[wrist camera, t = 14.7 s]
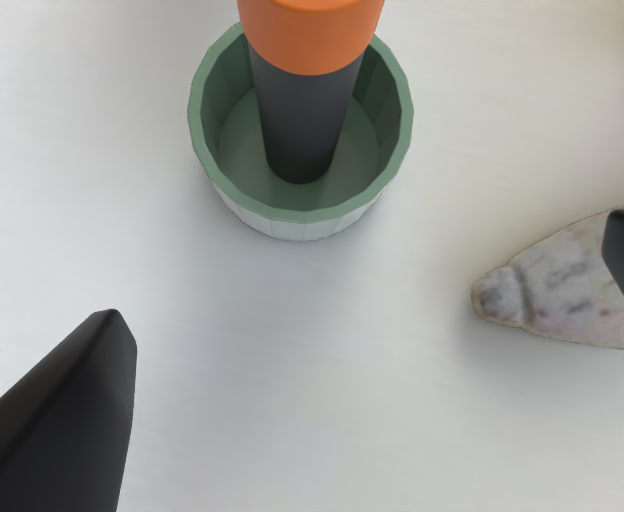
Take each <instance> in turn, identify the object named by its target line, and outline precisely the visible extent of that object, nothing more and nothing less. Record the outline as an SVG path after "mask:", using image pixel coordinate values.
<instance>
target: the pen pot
mask: <svg viewBox="0 0 624 512" xmlns="http://www.w3.org/2000/svg"><path fill="white" fill-rule="evenodd" d="M413 110H414V109H413V104H412V99H411V95H410V90H409V86H408V81H407V78H406V75H405V74H404V72H403V70H402V68H401V67H400V65H399V63H398V62H397V60H396V58H395V57H394V55H393V53H392V51H391V50H390V48H389V47H388V46H387V45H386V44H385V43H384V42H383V41H382V40H380V39H379V38H378V37H377V36H376V35H375V34H374V35H373V37H372V39H371V41H370V43H369V44H368V46H367V47H366V49H365V51H364V55H363V58H362V61H361V65H360V68H359V72H358V75H357V78H356V82H355V85H354V88H353V92H352V95H351V99H350V102H349V105H348V109H347V112H346V115H345V119H344V122H343V126H342V129H341V132H340V136H339V139H338V143H337V146H336V149H335V153H334V156H333V159H332V162H331V165H330V167H329V169H328V170H327V171H326V173H325V174H324V175H323V176H321V177H320V178H319V179H317V180H315V181H313V182H310V183H307V184H293V183H289V182H286V181H284V180H282V179H281V178H279V177H278V176H277V175H276V174H275V173H274V172H273V171H272V170H271V168H270V167H269V165H268V163H267V160H266V155H265V148H264V142H263V136H262V129H261V123H260V116H259V110H258V103H257V97H256V90H255V84H254V77H253V71H252V64H251V58H250V51H249V45H248V39H247V37H246V35H245V33H244V31H243V28H242V25H241V22H239V23H237V24H234V26H232V27H231V28H230V29H229V30H228V31H226V32H225V33H224V34H223V35H222V36H221V37H220V38H219V39H218V40H217V41H216V42H215V43H214V44H213V45H212V46H211V47H210V48H209V50H208V51H207V52H206V54H205V56H204V58H203V60H202V62H201V64H200V66H199V68H198V70H197V72H196V74H195V75H194V77H193V80H192V84H191V91H190V97H189V104H188V110H187V117H188V123H189V129H190V134H191V140H192V146H193V148H194V151H195V153H196V155H197V157H198V159H199V160H200V162H201V164H202V166H203V168H204V170H205V171H206V173H207V175H208V177H209V179H210V180H211V182H212V184H213V185H214V187H215V188H216V190H217V192H218V193H219V195H220V196H221V198H222V200H223V201H224V203H225V204H226V206H227V207H228V208H229V209H230V210H231V211H232V212H233V213H234V214H235V215H236V216H237V217H238V218H239V219H240V220H242V221H243V222H244V223H245V224H247V225H248V226H250V227H251V228H253V229H254V230H256V231H258V232H260V233H262V234H264V235H267V236H270V237H273V238H276V239H281V240H286V241H312V240H317V239H322V238H325V237H328V236H331V235H334V234H336V233H338V232H340V231H342V230H344V229H345V228H347V227H348V226H350V225H351V224H353V223H355V222H356V221H357V220H358V219H359V218H360V217H361V216H362V215H363V214H364V213H365V211H366V210H367V209H368V208H369V207H370V206H371V205H372V204H373V203H374V202H375V200H376V199H377V198H378V197H379V196H380V194H381V193H382V192H383V191H384V189H385V188H386V187H387V186H388V185H389V183H390V182H391V181H392V180H393V178H394V177H395V176H396V174H397V172H398V170H399V168H400V166H401V164H402V161H403V159H404V157H405V155H406V153H407V150H408V148H409V146H410V142H411V133H412V123H413V114H414V111H413Z"/></svg>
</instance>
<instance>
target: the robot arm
mask: <svg viewBox="0 0 624 512" xmlns="http://www.w3.org/2000/svg"><path fill="white" fill-rule="evenodd" d="M601 255H602V258H603V261H604V263H605V265H606V266H607V268H608V270H609V272H610V273H611V275H612V277H613V278H614V280H615V282H616V284H617V285H618V287H619V289H620V291H621V292H622V294H623V296H624V208H620V209H615V210H612V211H611V212H610V213H609V214H608V216H607V219H606V224H605V229H604V234H603V239H602V245H601ZM136 362H137V345H136V341H135V339H134V337H133V335H132V333H131V331H130V329H129V328H128V326H127V324H126V322H125V320H124V319H123V317H122V315H121V314H120V312H119V311H118V310H116V309H108V310H103V311H98V312H94V313H92V314H91V315H90V316H89V317H88V318H87V319H86V320H85V321H84V322H82V323H81V324H80V325H79V326H78V327H77V328H76V329H75V330H74V331H73V332H72V333H70V334H69V335H68V336H67V337H66V338H65V339H64V340H63V341H62V342H61V343H60V344H58V345H57V346H56V347H55V348H54V349H53V350H52V351H51V352H50V353H49V354H48V355H46V356H45V357H44V358H43V359H42V360H41V361H40V362H39V363H38V364H37V365H36V366H34V367H33V368H32V369H31V370H30V371H29V372H28V373H27V374H26V375H25V376H23V377H22V378H21V379H20V380H19V381H18V382H17V383H16V384H15V385H14V386H13V387H11V388H10V389H9V390H8V391H7V392H6V393H5V394H4V395H3V396H2V397H1V398H0V512H116V510H117V505H118V500H119V494H120V489H121V483H122V478H123V473H124V467H125V462H126V456H127V451H128V446H129V440H130V434H131V428H132V420H133V408H134V393H135V377H136Z"/></svg>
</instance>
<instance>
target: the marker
mask: <svg viewBox="0 0 624 512" xmlns="http://www.w3.org/2000/svg"><path fill="white" fill-rule="evenodd" d="M384 1H385V0H237V4H238V10H239V15H240V21H241V25H242V28H243V31H244V33H245V35H246V37H247V39H248V45H249V51H250V58H251V64H252V71H253V77H254V84H255V90H256V97H257V103H258V110H259V116H260V123H261V129H262V136H263V142H264V148H265V155H266V160H267V163H268V165H269V167H270V168H271V170H272V171H273V172H274V173H275V174H276V175H277V176H278V177H279V178H281V179H282V180H284V181H286V182H289V183H293V184H307V183H310V182H313V181H315V180H317V179H319V178H320V177H321V176H323V175H324V174H325V173H326V171H327V170H328V169H329V167H330V165H331V162H332V159H333V156H334V153H335V149H336V146H337V143H338V139H339V136H340V132H341V129H342V126H343V122H344V119H345V115H346V112H347V109H348V105H349V102H350V99H351V95H352V92H353V88H354V85H355V82H356V78H357V75H358V72H359V68H360V65H361V61H362V58H363V55H364V51H365V49H366V47H367V46H368V44H369V43H370V41H371V39H372V37H373V35H374V32H375V29H376V26H377V23H378V20H379V17H380V13H381V10H382V7H383V4H384Z"/></svg>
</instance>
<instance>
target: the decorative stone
mask: <svg viewBox="0 0 624 512" xmlns="http://www.w3.org/2000/svg"><path fill="white" fill-rule="evenodd" d="M620 208H624V206H621V207H618V208H614V209H611V210H608V211H605V212H602V213H598V214H596V215H593V216H590V217H588V218H585V219H583V220H581V221H578V222H576V223H573V224H571V225H569V226H567V227H565V228H563V229H561V230H559V231H558V232H556V233H555V234H553V235H551V236H550V237H548V238H546V239H544V240H542V241H540V242H538V243H536V244H534V245H532V246H530V247H529V248H527V249H526V250H524V251H522V252H520V253H518V254H517V255H515V256H514V257H513V258H512V259H511V260H510V261H509V262H508V263H507V265H506V266H505V267H499V268H496V269H494V270H492V271H490V272H488V273H487V274H486V275H485V276H484V277H482V278H481V279H479V280H478V281H477V282H475V283H474V284H473V286H472V288H471V299H472V304H473V307H474V310H475V313H477V314H478V315H479V316H480V317H481V318H483V319H485V320H489V321H492V322H495V323H498V324H501V325H504V326H508V327H519V326H520V327H521V328H522V329H523V330H525V331H526V332H529V333H534V334H539V335H542V336H547V337H551V338H557V339H562V340H567V341H570V342H574V343H578V344H585V345H591V346H598V347H605V348H613V349H624V296H623V294H622V292H621V291H620V289H619V287H618V285H617V284H616V282H615V280H614V278H613V277H612V275H611V273H610V272H609V270H608V268H607V266H606V265H605V263H604V261H603V258H602V255H601V245H602V239H603V234H604V229H605V224H606V219H607V216H608V214H609V213H610V212H611V211H612V210H615V209H620Z"/></svg>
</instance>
